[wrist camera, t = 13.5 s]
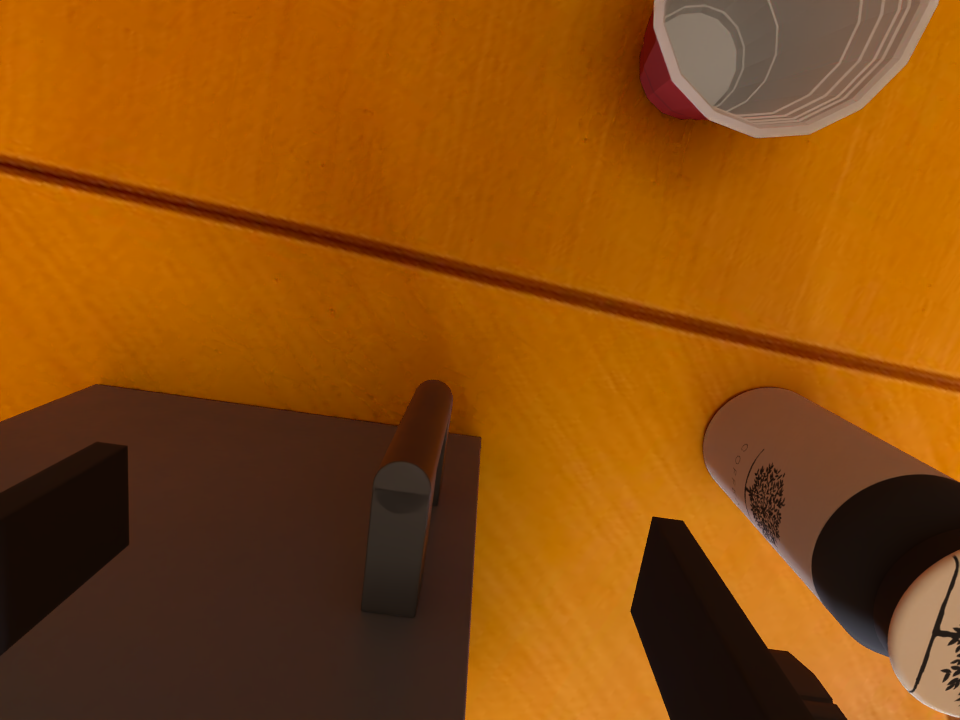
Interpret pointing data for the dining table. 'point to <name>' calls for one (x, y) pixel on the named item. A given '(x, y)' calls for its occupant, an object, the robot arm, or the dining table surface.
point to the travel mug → (852, 528)
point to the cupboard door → (258, 564)
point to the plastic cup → (776, 59)
